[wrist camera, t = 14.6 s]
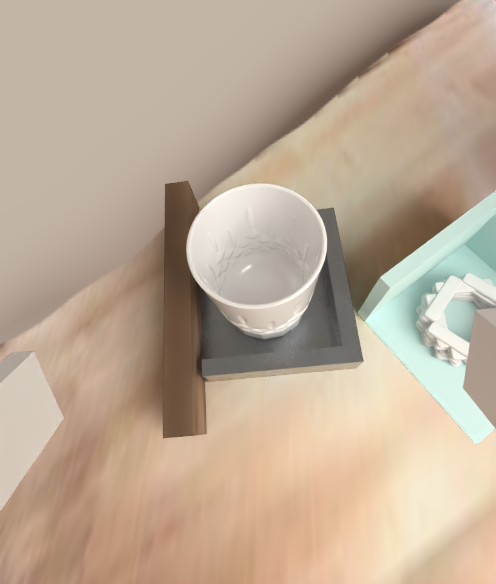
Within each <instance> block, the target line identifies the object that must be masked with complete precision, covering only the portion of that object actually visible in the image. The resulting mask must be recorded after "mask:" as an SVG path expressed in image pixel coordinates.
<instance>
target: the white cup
mask: <svg viewBox="0 0 496 584" xmlns="http://www.w3.org/2000/svg"><path fill="white" fill-rule="evenodd" d="M326 251H327V235H326V230H325V226H324V224H323V221H322V219H321V217H320V215H319V213H318V212H317V210H316V209H315V208H314V207H313V205H312V204H311V203H310V202H309V201H308V200H306V199H305V198H304V197H303V196H301V195H300V194H298V193H296V192H295V191H293V190H291V189H288V188H286V187H283V186H279V185H275V184H268V183H252V184H245V185H241V186H237V187H234V188H231V189H229V190H227V191H224V192H223V193H221V194H219V195H217V196H216V197H214V198H213V199H212V200H211V201H209V202H208V203H207V204H206V205H205V206H204V207H203V208H202V209H201V211H200V212H199V213H198V215H197V216H196V218H195V219H194V221H193V223H192V225H191V227H190V230H189V233H188V237H187V244H186V254H187V261H188V265H189V268H190V270H191V273H192V275H193V277H194V278H195V280H196V281H197V283H198V284H199V285H200V287H201V288H202V289H203V290H204V292H205V293H206V294H207V295H208V297H209V298H210V299H211V301H212V302H213V303H214V304H215V306H216V307H217V308H218V309H219V311H220V312H221V313H222V314H223V315H224V316H225V317H226V318H227V319H228V320H229V321H230V322H231V323H232V324H233V325H234V326H235V327H237V328H238V329H239V330H240V331H241V332H242V333H244V334H245V335H247V336H251V337H255V338H259V339H263V340H265V339H270V338H275V337H280V336H284V335H285V334H286V333H288V332H289V331H290V330H292V329H293V328H294V327H296V326H297V325H298V324H299V322H300V320H301V318H302V316H303V314H304V312H305V310H306V309H307V307H308V305H309V302H310V300H311V298H312V295H313V293H314V290H315V287H316V284H317V281H318V278H319V275H320V272H321V269H322V266H323V263H324V260H325V256H326Z"/></svg>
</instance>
